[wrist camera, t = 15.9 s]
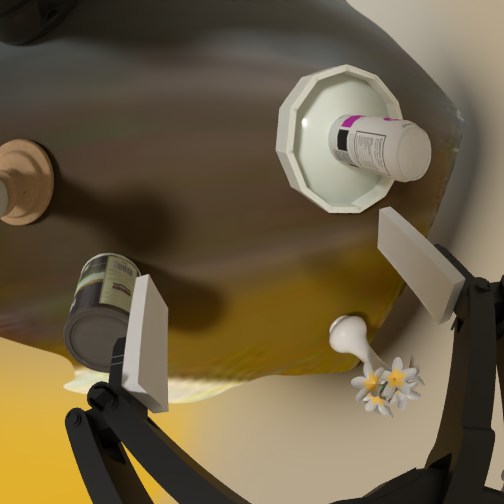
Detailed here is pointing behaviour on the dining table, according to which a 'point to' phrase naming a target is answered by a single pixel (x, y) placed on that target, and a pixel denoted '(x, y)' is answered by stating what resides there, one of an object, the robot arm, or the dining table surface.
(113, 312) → the coffee can
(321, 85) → the ceramic bowl
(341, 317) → the flower vase
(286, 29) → the dining table surface
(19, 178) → the candle holder
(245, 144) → the dining table surface
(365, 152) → the supplement can
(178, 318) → the dining table surface
